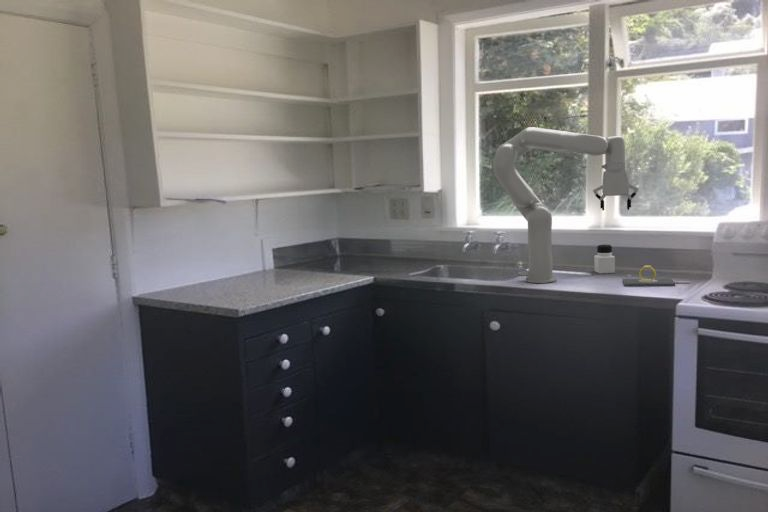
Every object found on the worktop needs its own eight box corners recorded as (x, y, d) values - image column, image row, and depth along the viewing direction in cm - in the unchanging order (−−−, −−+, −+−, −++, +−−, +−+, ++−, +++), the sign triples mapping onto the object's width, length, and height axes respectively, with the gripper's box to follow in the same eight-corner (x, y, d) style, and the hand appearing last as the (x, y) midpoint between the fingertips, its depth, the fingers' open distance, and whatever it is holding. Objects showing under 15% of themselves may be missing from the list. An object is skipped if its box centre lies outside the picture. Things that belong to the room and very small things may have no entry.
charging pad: (624, 286, 261) (624, 283, 261) (622, 281, 273) (622, 278, 273) (693, 285, 255) (693, 283, 254) (688, 280, 266) (688, 277, 266)
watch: (639, 282, 265) (637, 266, 264) (640, 280, 267) (639, 265, 267) (655, 281, 262) (654, 266, 261) (656, 280, 264) (655, 265, 264)
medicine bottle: (615, 272, 294) (615, 245, 292) (599, 273, 294) (598, 246, 292) (610, 270, 301) (610, 243, 299) (594, 271, 301) (593, 244, 300)
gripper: (592, 168, 273) (593, 211, 275) (638, 166, 268) (639, 209, 270) (592, 168, 280) (593, 209, 283) (637, 166, 275) (637, 208, 278)
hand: (615, 209), depth 276 cm, fingers open, 9 cm apart
